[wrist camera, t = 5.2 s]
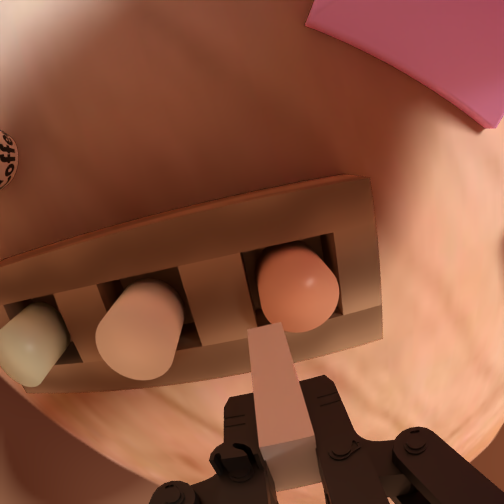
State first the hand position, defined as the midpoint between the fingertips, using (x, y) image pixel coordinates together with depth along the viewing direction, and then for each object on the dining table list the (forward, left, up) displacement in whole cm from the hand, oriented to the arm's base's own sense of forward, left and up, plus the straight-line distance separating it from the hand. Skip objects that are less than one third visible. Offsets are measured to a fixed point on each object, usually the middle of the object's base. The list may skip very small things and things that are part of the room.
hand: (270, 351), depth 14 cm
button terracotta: (0, +2, -9) cm, 10 cm away
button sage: (0, -18, -7) cm, 19 cm away
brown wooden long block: (0, -8, -12) cm, 14 cm away
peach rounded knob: (0, -8, -7) cm, 10 cm away
